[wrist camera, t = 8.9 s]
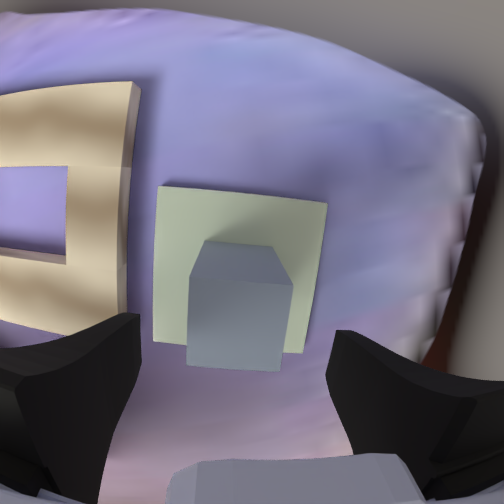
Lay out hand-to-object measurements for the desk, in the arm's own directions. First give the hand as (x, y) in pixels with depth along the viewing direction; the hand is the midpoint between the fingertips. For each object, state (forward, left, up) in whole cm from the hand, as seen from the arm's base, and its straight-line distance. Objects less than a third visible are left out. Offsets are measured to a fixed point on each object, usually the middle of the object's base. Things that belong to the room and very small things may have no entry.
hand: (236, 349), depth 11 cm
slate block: (0, 0, -9) cm, 9 cm away
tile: (0, 0, -9) cm, 9 cm away
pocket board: (+3, +15, -9) cm, 18 cm away
